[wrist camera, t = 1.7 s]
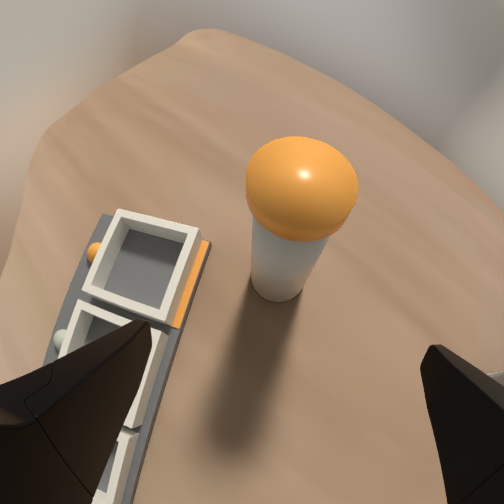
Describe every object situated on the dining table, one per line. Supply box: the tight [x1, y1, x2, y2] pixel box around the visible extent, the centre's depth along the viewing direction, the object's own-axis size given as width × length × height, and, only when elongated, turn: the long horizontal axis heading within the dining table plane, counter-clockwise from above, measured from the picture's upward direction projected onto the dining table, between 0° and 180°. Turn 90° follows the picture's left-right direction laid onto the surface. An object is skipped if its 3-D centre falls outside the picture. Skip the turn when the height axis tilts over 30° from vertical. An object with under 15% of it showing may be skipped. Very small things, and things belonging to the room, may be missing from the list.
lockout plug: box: [246, 137, 358, 302], centre depth 18 cm, size 5×5×12 cm
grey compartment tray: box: [42, 209, 212, 504], centre depth 19 cm, size 22×10×3 cm, turn 164°
